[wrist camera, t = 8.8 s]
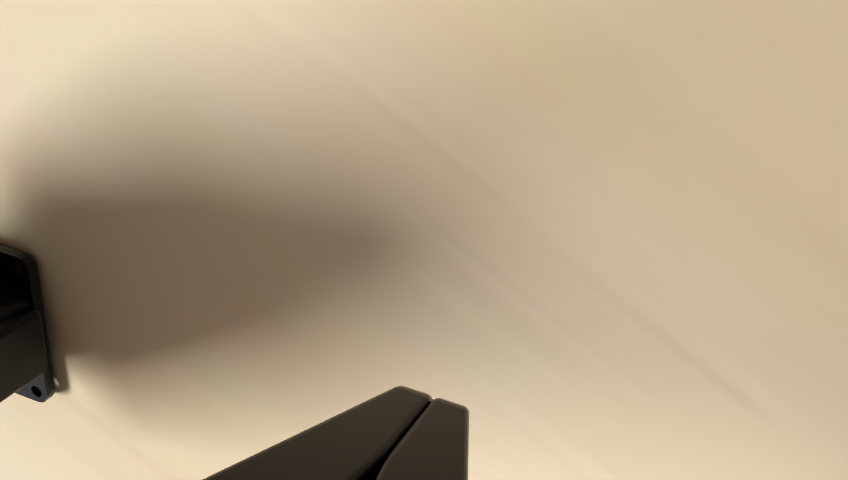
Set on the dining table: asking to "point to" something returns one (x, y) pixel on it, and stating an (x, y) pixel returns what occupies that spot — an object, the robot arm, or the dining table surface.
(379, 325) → the dining table surface
